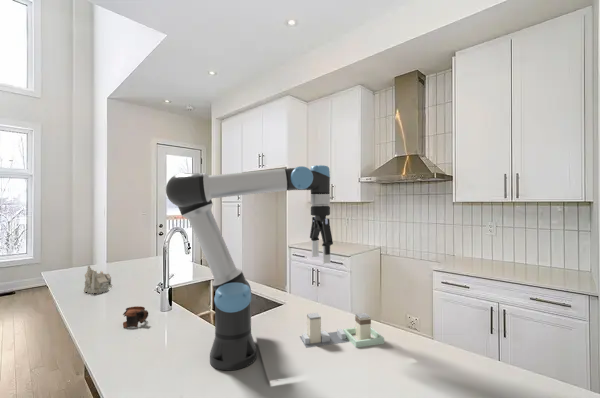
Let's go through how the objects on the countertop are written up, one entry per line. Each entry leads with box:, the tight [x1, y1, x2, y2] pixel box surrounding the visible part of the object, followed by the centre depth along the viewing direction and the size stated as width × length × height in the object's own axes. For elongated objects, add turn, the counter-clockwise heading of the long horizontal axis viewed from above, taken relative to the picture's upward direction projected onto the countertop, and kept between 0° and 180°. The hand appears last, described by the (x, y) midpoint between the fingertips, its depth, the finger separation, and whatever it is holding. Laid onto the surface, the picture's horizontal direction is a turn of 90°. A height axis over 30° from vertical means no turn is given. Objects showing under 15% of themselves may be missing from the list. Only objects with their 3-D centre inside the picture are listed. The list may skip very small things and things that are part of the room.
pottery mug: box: [122, 305, 149, 329], centre depth 131 cm, size 12×10×8 cm
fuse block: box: [299, 328, 350, 349], centre depth 113 cm, size 16×9×3 cm, turn 105°
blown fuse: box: [354, 312, 372, 341], centre depth 113 cm, size 4×4×9 cm
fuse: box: [306, 312, 322, 343], centre depth 112 cm, size 4×4×9 cm
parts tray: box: [342, 326, 385, 348], centre depth 113 cm, size 11×11×3 cm
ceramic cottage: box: [83, 265, 114, 295], centre depth 181 cm, size 16×16×15 cm
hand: (320, 259), depth 121 cm, fingers open, 13 cm apart
